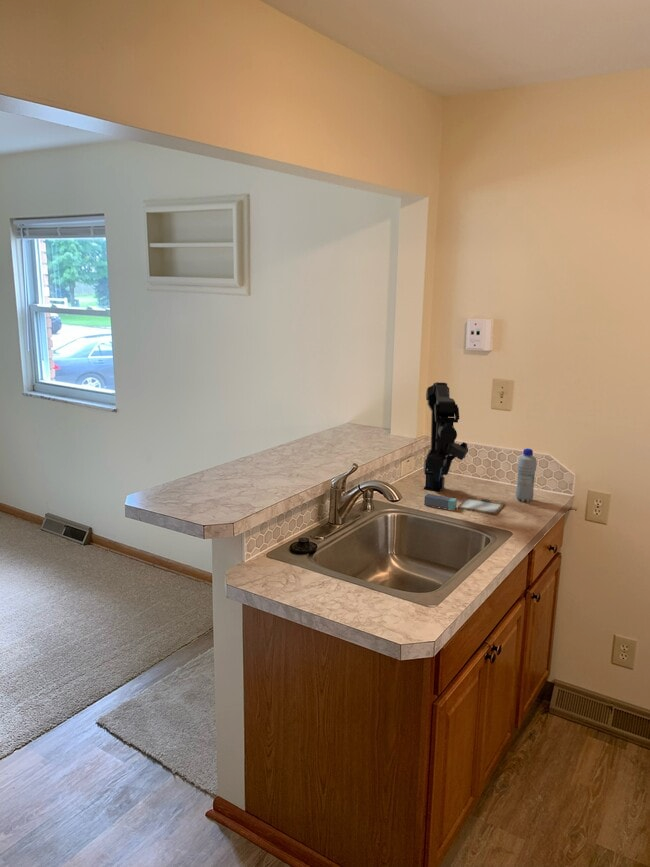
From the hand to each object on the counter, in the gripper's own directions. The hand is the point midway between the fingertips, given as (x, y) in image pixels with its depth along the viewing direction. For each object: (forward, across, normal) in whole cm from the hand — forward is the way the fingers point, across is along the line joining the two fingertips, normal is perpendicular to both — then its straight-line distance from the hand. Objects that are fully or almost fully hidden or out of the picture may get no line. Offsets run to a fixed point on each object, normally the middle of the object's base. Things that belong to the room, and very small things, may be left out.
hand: (441, 477), depth 240 cm
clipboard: (+11, +7, -13) cm, 19 cm away
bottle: (+11, +22, -25) cm, 35 cm away
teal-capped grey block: (+11, 0, 0) cm, 11 cm away
